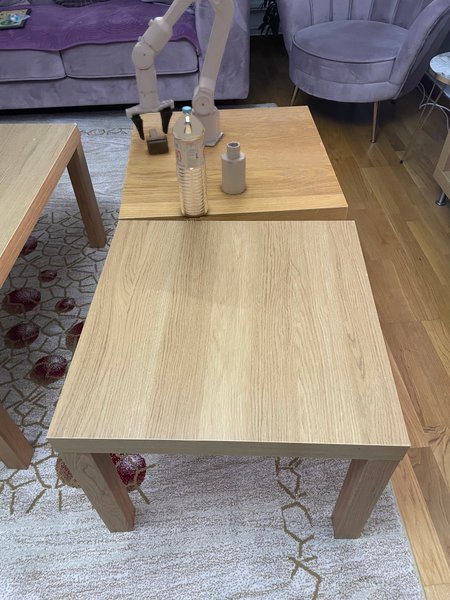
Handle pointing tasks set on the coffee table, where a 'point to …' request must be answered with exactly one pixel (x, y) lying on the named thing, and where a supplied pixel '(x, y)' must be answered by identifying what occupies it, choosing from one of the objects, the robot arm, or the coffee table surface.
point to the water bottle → (191, 164)
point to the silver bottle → (233, 169)
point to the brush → (156, 143)
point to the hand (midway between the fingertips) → (153, 135)
